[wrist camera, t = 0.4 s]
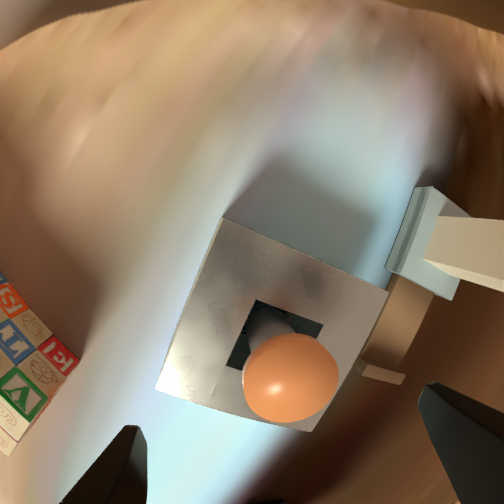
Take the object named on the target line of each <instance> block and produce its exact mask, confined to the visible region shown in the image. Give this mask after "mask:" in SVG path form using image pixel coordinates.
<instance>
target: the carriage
mask: <svg viewBox="0 0 504 504" xmlns="http://www.w3.org/2000/svg"><path fill="white" fill-rule="evenodd" d="M385 269H387V270H389V271H391V272H394V273H396V274H399V275H401V276H403V277H405V278H407V279H409V280H411V281H412V282H414V283H416V284H418V285H420V286H422V287H424V288H426V289H428V290H430V291H432V292H433V293H434V294H436V295H438V296H441V297H443V298H445V299H448V300H450V301H452V299H453V296H454V294H455V291H456V289H457V286H458V284H459V281H460V279H464V280H467V281H470V282H473V283H477V284H480V285H483V286H486V287H489V288H492V289H496V290H499V291H502V292H504V220H494V219H480V218H472V217H470V216H469V215H468V214H467V213H466V212H464V211H463V210H462V209H461V208H460V207H458V206H457V205H456V204H455V203H453V202H452V201H451V200H449V199H448V198H447V197H446V196H444V195H443V194H442V193H440V192H439V191H438V190H436V189H435V188H434V187H432V186H428V187H416V188H414V191H413V194H412V197H411V200H410V203H409V206H408V209H407V212H406V214H405V217H404V220H403V223H402V225H401V228H400V231H399V233H398V236H397V239H396V241H395V244H394V246H393V249H392V251H391V254H390V256H389V259H388V261H387V263H386V266H385Z"/></svg>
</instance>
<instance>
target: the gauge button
mask: <svg viewBox="0 0 504 504" xmlns="http://www.w3.org/2000/svg"><path fill="white" fill-rule="evenodd" d="M245 330H246V335H247V339H248V343H249V347H250V351H251V354H250V355H249V357H248V358H247V360H246V362H245V364H244V367H243V371H242V383H243V389H244V394H245V399H246V401H247V403H248V405H249V407H250V408H251V409H252V410H253V412H255V413H256V414H257V415H258V416H260V417H262V418H264V419H266V420H269V421H273V422H280V423H288V422H295V421H299V420H302V419H305V418H308V417H310V416H312V415H313V414H315V413H317V412H318V411H319V410H321V409H322V408H323V407H324V406H325V405H326V404H327V403H328V402H329V401H330V399H331V398H332V396H333V395H334V393H335V391H336V388H337V385H338V381H339V370H338V366H337V364H336V361H335V360H334V358H333V357H332V355H331V354H330V353H329V352H328V350H327V349H326V348H325V347H324V346H323V344H322V343H320V342H319V341H318V340H316V339H315V338H313V337H311V336H308V335H304V334H299V333H296V332H295V331H294V329H293V328H292V326H291V325H290V323H289V322H288V320H287V319H286V317H285V316H284V315H283V313H282V312H280V311H279V310H277V309H274V308H262V309H259V310H257V311H255V312H254V313H253V314H252V315H251V316H250V317H249V318H248V320H247V322H246V327H245Z"/></svg>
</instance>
